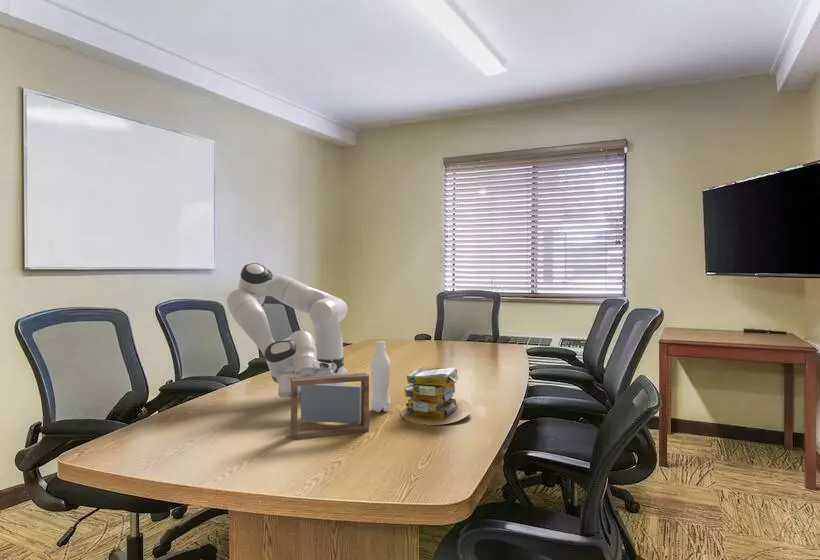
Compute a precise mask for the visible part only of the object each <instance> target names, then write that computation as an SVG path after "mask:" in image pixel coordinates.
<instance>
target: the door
mask: <svg viewBox="0 0 820 560" xmlns="http://www.w3.org/2000/svg"><path fill="white" fill-rule="evenodd" d="M300 421H302V422H303V421H304V422H306V421H307V422H318V423H319V422H320V423H321V422H322V423H336V424H337V423H338V424H353V423H361V385H349V384H348V385H330V384H316V385H302V386H301V396H300Z"/></svg>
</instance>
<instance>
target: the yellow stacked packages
mask: <svg viewBox="0 0 820 560" xmlns="http://www.w3.org/2000/svg"><path fill="white" fill-rule="evenodd" d="M459 379H460V377H459V375H458V370H457V368H456V367H446V368H445V367H432V366H428V367H426V366H418V367H417V368H415V369H414V370H412V371H409V373H408V374H407V375H406V380H407V383H408V384H409V385H408V386H406V387H405V388H404V395H405V398H408V400H407V402H406V404H405V405H404V406H403V407H402V408H401V410H400V416H401V417H402V418H403V419H404V420H405V421H407V422H409V421H411V423H413V422H415V424H418V423H420V424H419V425H422V424H426V425H425V426H439V425H445V424H447V425H448V424H452V423H456V422H459V421H461V420H463V419H465V418H466V417H468V416H469V415H470V414H471V412H472V409H473V408H472V407H473V406H472V405H471V403H470V402H468V401H467V400H465V399H463V398H459V397H457V396H456V397H455V396H454V393H456V389H455V388H456V386H455V385H456V383H457V381H458V380H459Z"/></svg>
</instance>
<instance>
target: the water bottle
mask: <svg viewBox="0 0 820 560" xmlns="http://www.w3.org/2000/svg"><path fill="white" fill-rule="evenodd" d="M375 348H376V351H375V354H374V355H373V357H372V359H371V363H370V371H371V372H370V380H371V384H372V385H371V386H372V395H371V399H370V407H371V410H372V411H374V412H375V413H380V412H382V411H383V412H384V413H385V412H388V411H389V409H390V406H391V398H390V393H389V388H390V387H389V386H390V382H391V360H390V357H389V356H388V354H387V351H386V348H387V346H386V341H385V340H376V346H375Z"/></svg>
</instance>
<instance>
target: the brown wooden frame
mask: <svg viewBox="0 0 820 560" xmlns="http://www.w3.org/2000/svg"><path fill="white" fill-rule="evenodd" d="M343 382H348V383H353V382H360V386H361V423H353V424H351V423H343V424H337V425H328V426H327V425H326V426H317V427H316V426H315V427H307V428H298V397H297V386H302V385H316V384H329V383H343ZM369 431H370V375H369V374H368V373H367V372H357V373H347V374H340V375H325V376H311V377H296V378H291V397H290V436H292V437H291V439H292V440H300V439H299V438H301V439H308V438H309V437H310V438H316V437H318V438H320V437H325V436H326V437H327V436H328V437H329V436H336V434H337V435H344V434H345V435H346V434H353V433H354V434H355V433H362V432H363V433H364V432H369Z"/></svg>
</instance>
